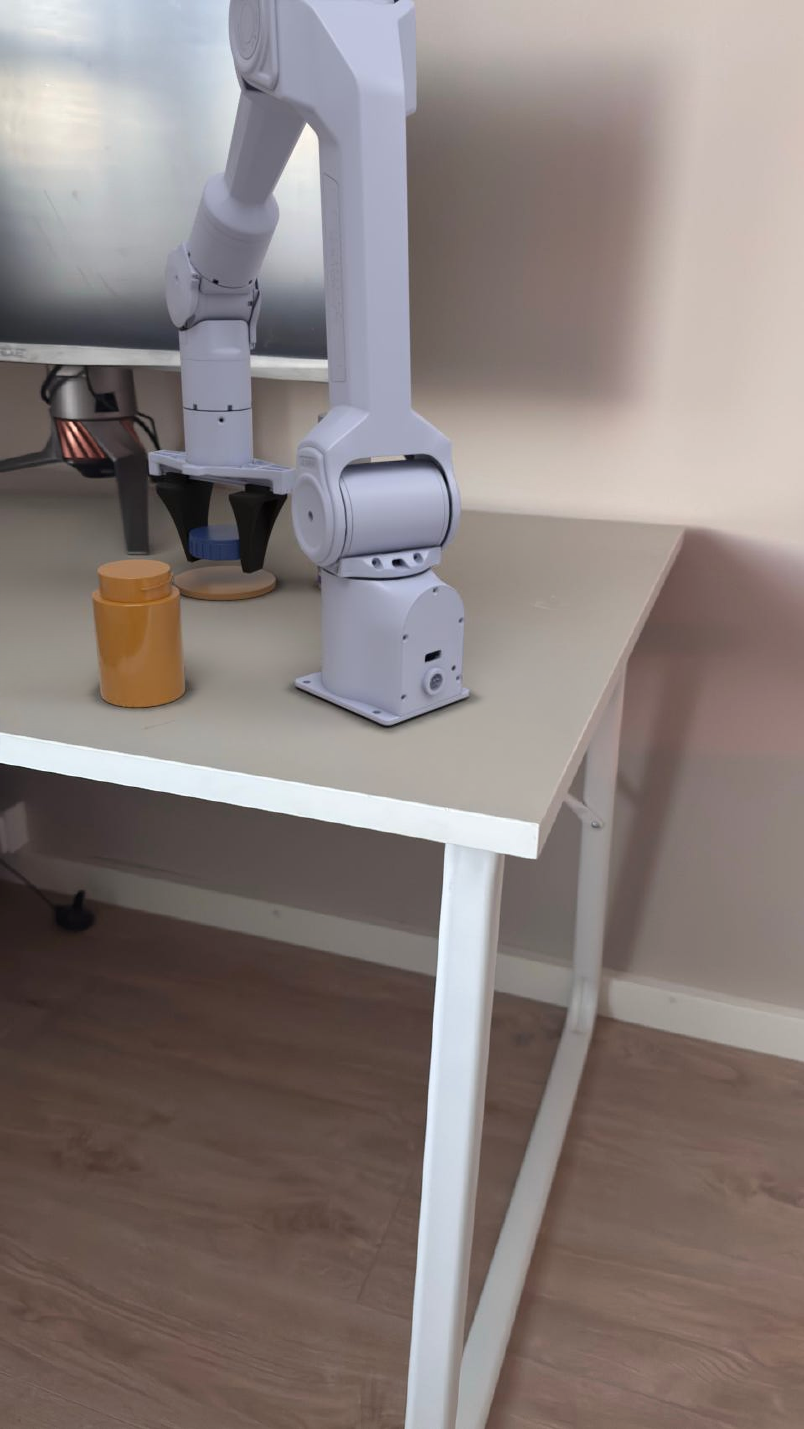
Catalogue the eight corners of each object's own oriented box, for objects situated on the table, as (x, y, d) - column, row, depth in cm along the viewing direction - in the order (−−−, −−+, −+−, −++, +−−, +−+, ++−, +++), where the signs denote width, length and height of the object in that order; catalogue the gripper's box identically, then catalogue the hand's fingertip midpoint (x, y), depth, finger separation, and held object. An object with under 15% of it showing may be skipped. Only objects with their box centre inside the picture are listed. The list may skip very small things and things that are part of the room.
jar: (202, 693, 73) (195, 569, 69) (129, 714, 69) (119, 585, 66) (155, 670, 76) (147, 552, 73) (85, 690, 73) (72, 567, 69)
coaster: (296, 587, 96) (296, 580, 96) (212, 607, 90) (212, 600, 90) (235, 566, 102) (235, 560, 102) (154, 583, 96) (153, 577, 96)
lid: (236, 540, 99) (235, 521, 98) (270, 554, 94) (270, 534, 94) (177, 549, 95) (176, 529, 95) (210, 564, 91) (209, 543, 90)
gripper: (119, 404, 90) (131, 562, 95) (258, 420, 84) (262, 588, 89) (175, 396, 96) (183, 545, 101) (309, 411, 89) (311, 569, 95)
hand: (224, 565), depth 95 cm, fingers closed on lid, 6 cm apart
